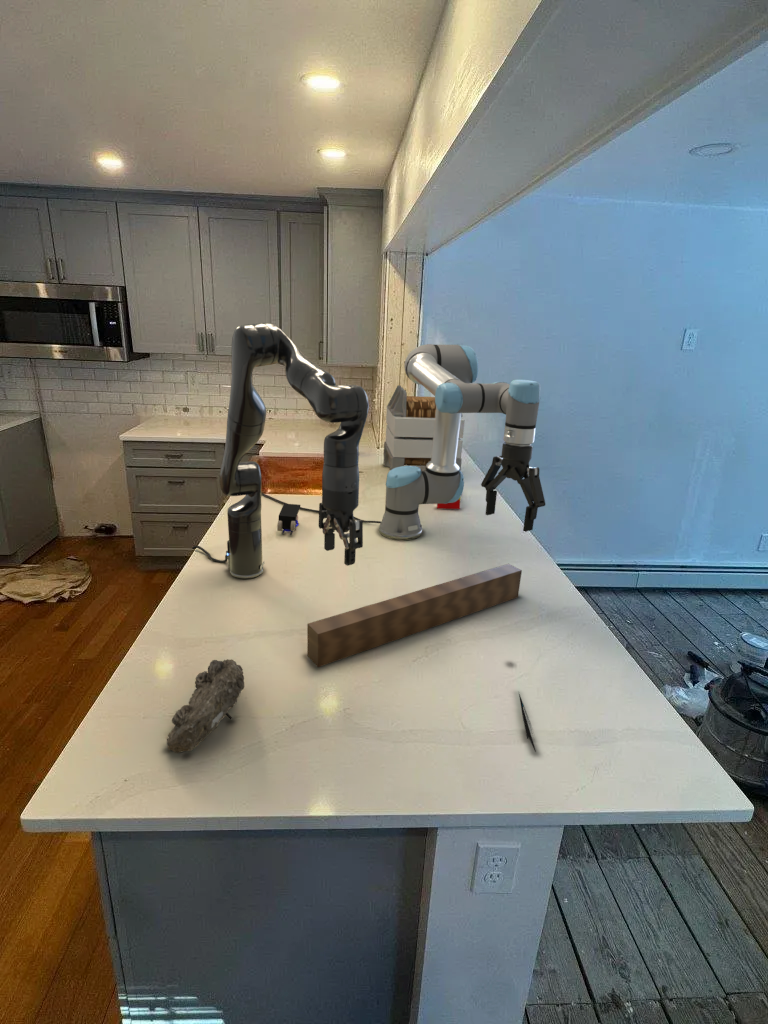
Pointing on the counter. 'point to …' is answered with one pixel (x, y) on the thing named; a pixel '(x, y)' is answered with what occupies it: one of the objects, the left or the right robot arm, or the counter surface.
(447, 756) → the counter surface
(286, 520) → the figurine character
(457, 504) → the toy
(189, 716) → the fossil
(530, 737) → the feather
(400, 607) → the post
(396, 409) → the grey wooden crate
